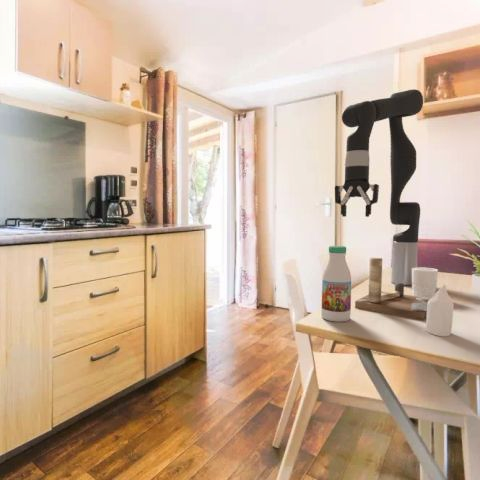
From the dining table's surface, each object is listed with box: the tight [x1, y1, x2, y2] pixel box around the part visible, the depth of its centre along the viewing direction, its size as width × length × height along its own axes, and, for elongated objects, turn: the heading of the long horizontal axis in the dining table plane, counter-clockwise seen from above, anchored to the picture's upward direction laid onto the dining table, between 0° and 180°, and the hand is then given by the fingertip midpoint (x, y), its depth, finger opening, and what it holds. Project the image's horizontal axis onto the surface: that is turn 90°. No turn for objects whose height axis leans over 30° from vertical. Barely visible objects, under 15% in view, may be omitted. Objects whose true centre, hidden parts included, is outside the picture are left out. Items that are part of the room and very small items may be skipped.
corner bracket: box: [411, 300, 427, 311], centre depth 97 cm, size 4×4×2 cm
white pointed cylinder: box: [425, 284, 454, 337], centre depth 83 cm, size 6×12×6 cm
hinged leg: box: [368, 257, 405, 303], centre depth 106 cm, size 16×4×13 cm, turn 122°
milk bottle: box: [320, 245, 352, 323], centre depth 94 cm, size 8×8×20 cm
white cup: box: [411, 266, 439, 298], centre depth 117 cm, size 8×8×10 cm
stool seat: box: [354, 290, 431, 321], centre depth 106 cm, size 19×19×2 cm
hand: (355, 216), depth 114 cm, fingers open, 7 cm apart
